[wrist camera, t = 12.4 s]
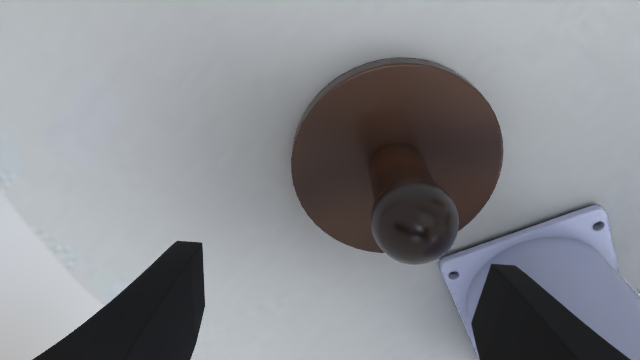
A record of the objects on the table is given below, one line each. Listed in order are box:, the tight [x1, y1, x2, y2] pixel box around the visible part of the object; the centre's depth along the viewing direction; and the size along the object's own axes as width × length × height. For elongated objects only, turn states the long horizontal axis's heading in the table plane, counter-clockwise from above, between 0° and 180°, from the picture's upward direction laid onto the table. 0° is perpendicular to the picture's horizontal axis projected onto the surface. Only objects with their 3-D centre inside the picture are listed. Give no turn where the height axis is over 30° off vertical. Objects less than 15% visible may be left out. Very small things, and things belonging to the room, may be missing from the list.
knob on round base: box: [291, 58, 503, 265], centre depth 17 cm, size 9×9×6 cm
